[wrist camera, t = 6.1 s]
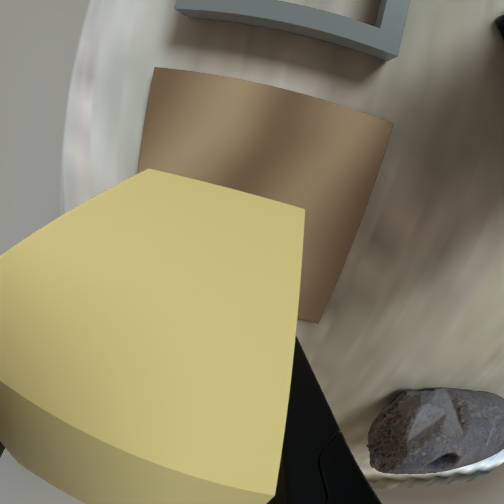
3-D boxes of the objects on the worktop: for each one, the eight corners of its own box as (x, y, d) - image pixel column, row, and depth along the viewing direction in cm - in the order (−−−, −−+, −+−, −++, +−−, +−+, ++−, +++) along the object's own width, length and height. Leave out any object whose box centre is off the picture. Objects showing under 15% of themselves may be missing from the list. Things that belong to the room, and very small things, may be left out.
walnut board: (390, 122, 14) (393, 123, 13) (318, 317, 19) (318, 323, 19) (159, 67, 14) (154, 67, 14) (135, 263, 20) (130, 267, 19)
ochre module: (305, 208, 9) (274, 495, 2) (263, 334, 12) (211, 549, 5) (148, 168, 10) (-75, 315, 3) (139, 294, 12) (18, 463, 5)
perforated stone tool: (520, 378, 20) (545, 436, 13) (490, 415, 22) (507, 470, 16) (386, 369, 21) (399, 450, 15) (360, 411, 23) (363, 484, 17)
